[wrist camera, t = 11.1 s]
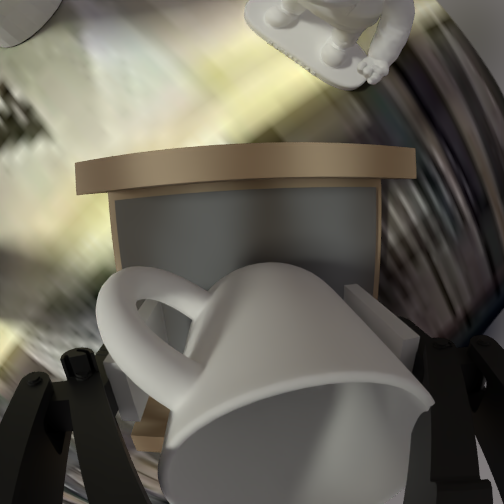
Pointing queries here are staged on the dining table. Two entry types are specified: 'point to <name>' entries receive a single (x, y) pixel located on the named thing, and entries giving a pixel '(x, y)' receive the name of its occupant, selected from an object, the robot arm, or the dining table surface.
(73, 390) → the robot arm
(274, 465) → the mug
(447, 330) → the dining table surface
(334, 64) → the figurine
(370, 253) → the wooden tray
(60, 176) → the dining table surface
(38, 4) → the cup
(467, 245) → the dining table surface
